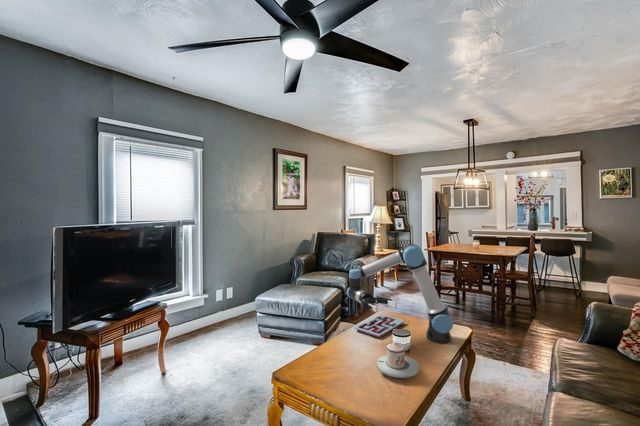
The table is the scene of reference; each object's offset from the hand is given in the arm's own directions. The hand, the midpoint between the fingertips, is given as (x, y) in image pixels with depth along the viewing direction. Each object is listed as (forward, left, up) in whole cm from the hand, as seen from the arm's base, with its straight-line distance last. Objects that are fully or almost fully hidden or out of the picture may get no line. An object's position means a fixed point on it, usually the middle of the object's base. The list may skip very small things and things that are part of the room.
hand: (386, 307), depth 170 cm
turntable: (-7, +10, -27) cm, 30 cm away
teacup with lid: (-7, +10, -26) cm, 28 cm away
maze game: (+9, -46, -30) cm, 56 cm away
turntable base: (-7, +10, -30) cm, 32 cm away
